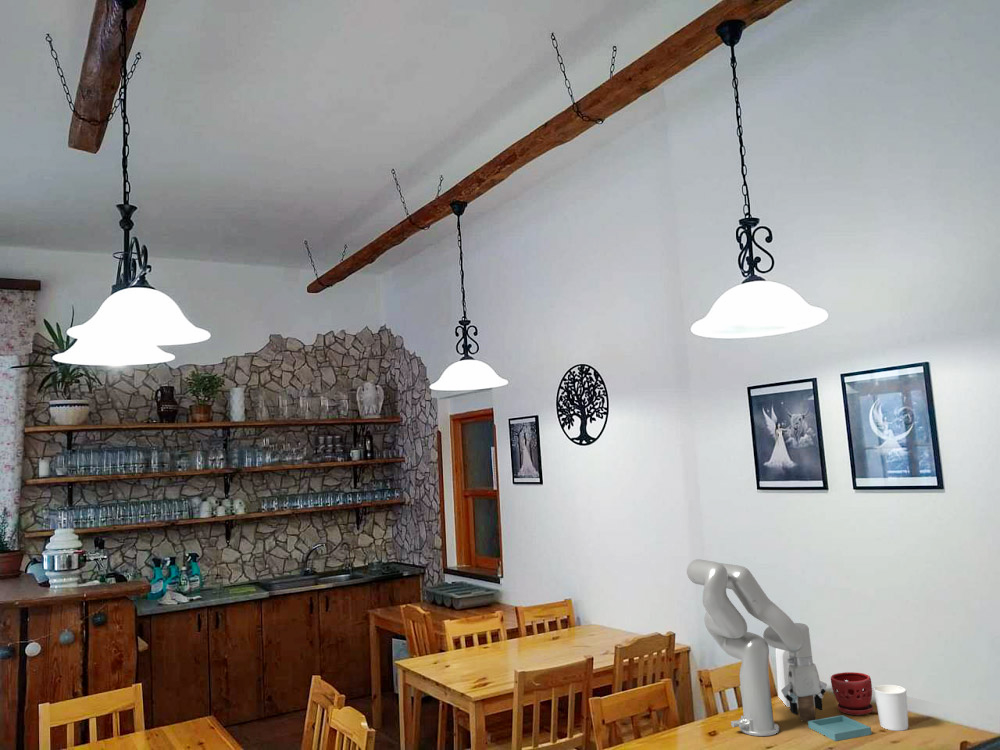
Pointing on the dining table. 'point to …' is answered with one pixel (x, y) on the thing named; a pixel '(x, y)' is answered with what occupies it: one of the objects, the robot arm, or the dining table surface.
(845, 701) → the plant pot
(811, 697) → the pepper mill
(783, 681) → the milk
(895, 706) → the candle holder
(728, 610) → the robot arm
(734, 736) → the dining table surface
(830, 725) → the tray
